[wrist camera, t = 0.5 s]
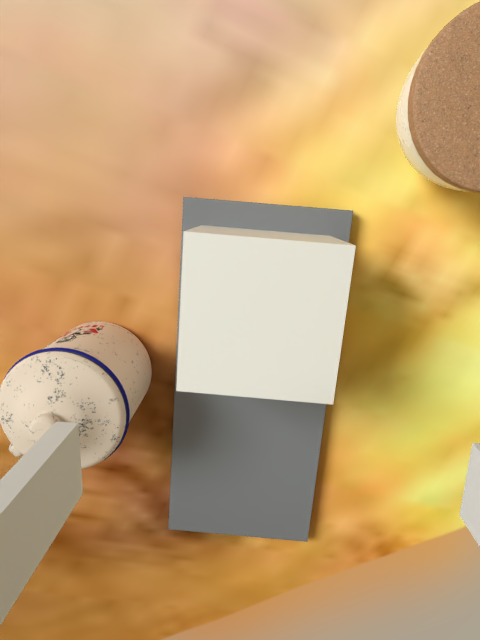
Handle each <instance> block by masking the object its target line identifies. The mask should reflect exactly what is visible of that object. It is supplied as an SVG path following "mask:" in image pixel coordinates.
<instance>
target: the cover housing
mask: <svg viewBox="0 0 480 640" xmlns="http://www.w3.org/2000/svg"><path fill="white" fill-rule="evenodd" d="M355 248H356V245H353V244H350V243H348V242H345V241H343V240H340V239H337V238H335V237H332V236H327V235H315V234H303V233H291V232H279V231H266V230H254V229H242V228H230V227H218V226H205V225H201V226H198V227H195V228H192V229H189V230H186V231H184V232H183V254H182V276H181V297H180V319H179V341H178V362H177V384H176V391H182V392H194V393H205V394H217V395H228V396H240V397H251V398H263V399H275V400H286V401H298V402H309V403H321V404H333V402H334V395H335V388H336V381H337V374H338V367H339V360H340V353H341V346H342V339H343V332H344V325H345V318H346V311H347V304H348V297H349V290H350V283H351V276H352V269H353V262H354V255H355Z"/></svg>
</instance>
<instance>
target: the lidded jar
mask: <svg viewBox="0 0 480 640" xmlns="http://www.w3.org/2000/svg"><path fill="white" fill-rule="evenodd" d="M396 129H397V136H398V140H399V143H400V147H401V149H402V151H403V153H404V155H405V157H406V159H407V160H408V162H409V163H410V165H411V166H412V167H413V168H414V169H415V170H416V171H417V172H418V173H419V174H421V175H422V176H423V177H425V178H426V179H428V180H429V181H431V182H433V183H435V184H437V185H439V186H442V187H445V188H449V189H453V190H457V191H466V192H477V193H480V2H478V3H475V4H474V5H472V6H470V7H469V8H467V9H466V10H464V11H462V12H461V13H460V14H459V15H457V16H456V17H455V18H454V19H453V20H451V21H450V22H449V23H448V24H447V25H446V26H445V27H444V28H443V29H442V30H441V31H440V32H439V33H438V35H437V36H436V37H435V38H434V39H433V40H432V42H431V43H430V45H429V46H428V47H427V48H426V49H425V50H424V51H423V53H422V54H421V55H420V57H419V58H418V60H417V61H416V63H415V64H414V66H413V67H412V69H411V70H410V72H409V74H408V76H407V78H406V80H405V82H404V85H403V88H402V91H401V94H400V97H399V100H398V106H397V111H396Z"/></svg>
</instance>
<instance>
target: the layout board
mask: <svg viewBox="0 0 480 640" xmlns="http://www.w3.org/2000/svg"><path fill="white" fill-rule="evenodd" d="M352 216H353V211H350V210H338V209H325V208H313V207H301V206H288V205H276V204H264V203H252V202H239V201H227V200H215V199H202V198H190V197H183V219H182V241H181V263H180V285H179V307H178V329H177V352H176V374H175V396H174V418H173V440H172V462H171V484H170V506H169V528H168V529H172V530H183V531H194V532H206V533H217V534H228V535H239V536H250V537H261V538H272V539H283V540H295V541H306V542H307V541H308V533H309V526H310V519H311V512H312V505H313V497H314V490H315V483H316V476H317V468H318V461H319V454H320V447H321V440H322V432H323V425H324V418H325V411H326V404H321V403H309V402H298V401H286V400H275V399H263V398H251V397H240V396H228V395H217V394H205V393H194V392H182V391H176V384H177V362H178V341H179V319H180V297H181V276H182V254H183V232H184V231H186V230H189V229H192V228H195V227H198V226H201V225H205V226H218V227H230V228H242V229H254V230H266V231H279V232H291V233H303V234H315V235H327V236H332V237H335V238H337V239H340V240H343V241H345V242H348V243H349V237H350V230H351V223H352Z"/></svg>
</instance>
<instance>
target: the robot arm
mask: <svg viewBox="0 0 480 640" xmlns="http://www.w3.org/2000/svg"><path fill="white" fill-rule="evenodd" d="M82 494H83V487H82V472H81V457H80V442H79V427H78V423H72V422H55V423H54V424H53V425H52V426H51V427H50V428H49V430H48V431H47V432H46V433H45V434H44V435H43V436H42V437H41V438H40V439H39V440H38V441H37V442H36V443H35V444H34V445H33V446H32V447H31V448H30V449H29V450H28V451H27V453H26V454H25V455H24V456H23V457H22V458H21V459H20V460H19V461H18V462H17V463H16V464H15V465H14V466H13V467H12V468H11V469H10V470H9V471H8V472H7V473H6V474H5V475H4V477H3V478H2V479H1V480H0V625H1V624H2V622H3V621H4V619H5V617H6V616H7V614H8V613H9V611H10V609H11V608H12V606H13V605H14V603H15V601H16V600H17V598H18V597H19V595H20V593H21V592H22V590H23V589H24V587H25V585H26V584H27V582H28V581H29V579H30V577H31V576H32V574H33V573H34V571H35V569H36V568H37V566H38V565H39V563H40V561H41V560H42V558H43V557H44V555H45V553H46V552H47V550H48V549H49V547H50V545H51V544H52V542H53V541H54V539H55V537H56V536H57V534H58V533H59V531H60V529H61V528H62V526H63V525H64V523H65V521H66V520H67V518H68V517H69V515H70V513H71V512H72V510H73V509H74V507H75V505H76V504H77V502H78V501H79V499H80V497H81V496H82ZM460 517H461V518H462V520H463V521H464V523H465V525H466V526H467V528H468V529H469V531H470V532H471V534H472V535H473V537H474V539H475V540H476V542H477V543H478V545H479V546H480V443H472V448H471V454H470V460H469V465H468V471H467V476H466V482H465V487H464V493H463V499H462V504H461V510H460Z"/></svg>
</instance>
